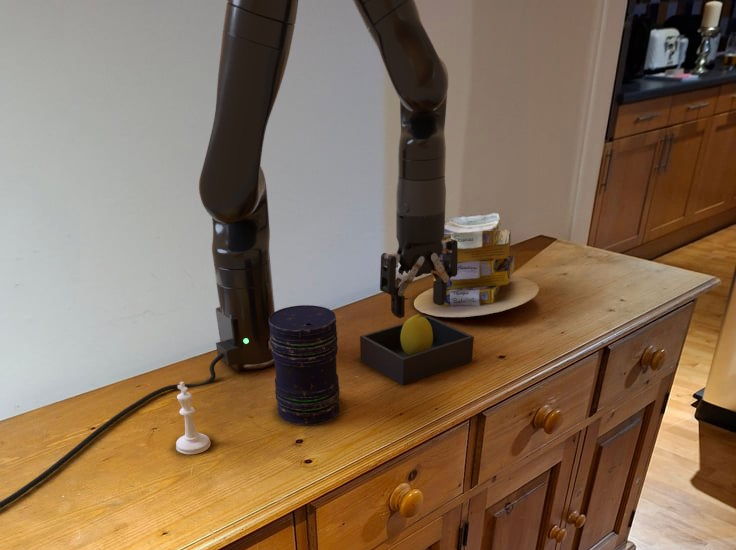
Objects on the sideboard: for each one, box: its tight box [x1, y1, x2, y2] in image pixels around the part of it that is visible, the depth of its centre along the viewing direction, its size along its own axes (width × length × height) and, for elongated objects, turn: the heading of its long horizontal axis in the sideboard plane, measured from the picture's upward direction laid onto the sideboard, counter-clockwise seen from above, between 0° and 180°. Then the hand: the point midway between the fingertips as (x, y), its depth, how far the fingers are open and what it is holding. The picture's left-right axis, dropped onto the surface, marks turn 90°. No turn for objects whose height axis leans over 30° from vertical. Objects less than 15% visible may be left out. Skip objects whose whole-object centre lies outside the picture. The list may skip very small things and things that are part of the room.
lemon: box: [400, 313, 433, 356], centre depth 120 cm, size 6×6×8 cm
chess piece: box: [175, 381, 211, 455], centre depth 99 cm, size 5×5×10 cm
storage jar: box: [269, 304, 341, 426], centre depth 105 cm, size 10×10×15 cm
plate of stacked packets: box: [413, 212, 540, 318], centre depth 139 cm, size 25×25×17 cm
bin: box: [359, 315, 475, 386], centre depth 122 cm, size 15×12×4 cm
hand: (418, 310), depth 118 cm, fingers open, 8 cm apart
